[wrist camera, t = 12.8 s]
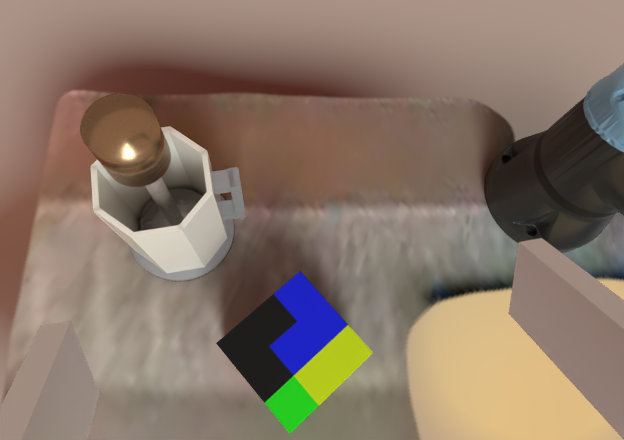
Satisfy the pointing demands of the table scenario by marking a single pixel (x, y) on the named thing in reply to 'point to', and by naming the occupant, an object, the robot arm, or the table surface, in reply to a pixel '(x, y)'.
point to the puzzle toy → (294, 350)
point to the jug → (192, 230)
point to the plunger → (136, 155)
